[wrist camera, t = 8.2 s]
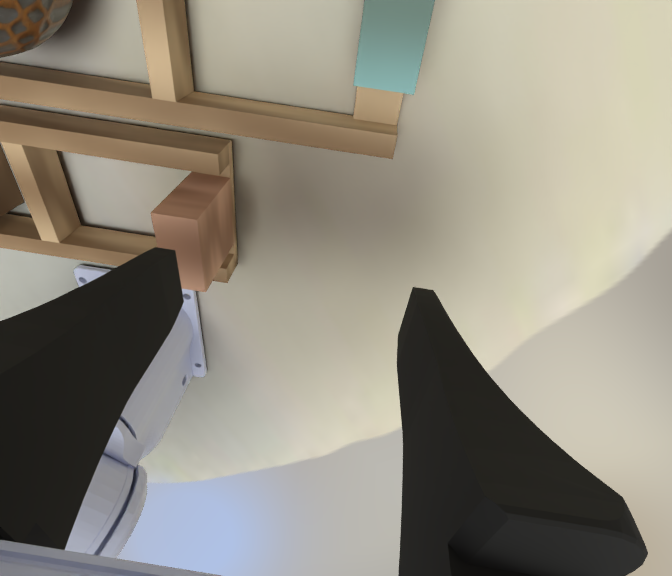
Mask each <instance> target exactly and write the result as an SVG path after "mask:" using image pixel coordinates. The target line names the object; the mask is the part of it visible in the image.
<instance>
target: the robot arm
mask: <svg viewBox="0 0 672 576" xmlns="http://www.w3.org/2000/svg"><path fill="white" fill-rule="evenodd" d="M74 275H75V277H76V280H77V283H78V285H79V287H78V288H76V289H74V290H72V291H70V292H68V293H66V294H64V295H62V296H60V297H58V298H56V299H54V300H52V301H50V302H47V303H45V304H43V305H40V306H38V307H36V308H33V309H31V310H28V311H26V312H23V313H21V314H18V315H16V316H13V317H11V318H8V319H5V320H2V321H0V576H221V575H215V574H209V573H202V572H196V571H190V570H184V569H177V568H172V567H166V566H159V565H153V564H147V563H140V562H134V561H128V560H122V559H116V558H117V556H118V555H119V553H120V552H121V550H122V549H123V547H124V546H125V544H126V542H127V541H128V539H129V537H130V536H131V534H132V532H133V530H134V528H135V526H136V524H137V522H138V519H139V517H140V515H141V512H142V510H143V507H144V503H145V500H146V495H147V473H146V470H145V469H144V468H143V467H142V466H140V465H138V463H139V461H140V460H141V459H142V458H144V457H145V456H146V455H148V454H149V453H150V452H151V451H152V450H153V449H154V448H155V447H156V446H157V445H158V443H159V442H160V440H161V439H162V437H163V435H164V433H165V431H166V429H167V427H168V425H169V423H170V421H171V419H172V417H173V415H174V413H175V411H176V409H177V407H178V405H179V403H180V400H181V398H182V396H183V394H184V392H185V390H186V388H187V386H188V384H189V382H190V380H191V378H192V376H196V377H204V376H205V375H206V373H207V368H206V361H205V353H204V346H203V339H202V332H201V325H200V318H199V311H198V304H197V296H196V291H194V290H188V289H182V287H181V281H180V275H179V269H178V263H177V257H176V252H175V250H171V249H165V248H158V247H154V248H152V249H150V250H148V251H146V252H144V253H142V254H140V255H139V256H137V257H135V258H133V259H131V260H129V261H128V262H126V263H124V264H122V265H120V266H118V267H117V268H115V269H113V270H109V269H103V268H96V267H90V266H83V265H79V266H77V267H76V268H75V269H74ZM187 294H189V295H190V296H188V295H187ZM397 372H398V384H399V396H400V407H401V419H402V430H403V484H402V485H403V486H402V517H401V540H400V559H399V576H626V575H627V574H629V573H631V572H633V571H635V570H636V569H637V568H639V567H640V566H641V565H642V564H643V562H644V561H645V559H646V557H647V554H648V552H647V549H646V546H645V543H644V541H643V539H642V537H641V534H640V532H639V530H638V528H637V525H636V523H635V521H634V519H633V517H632V515H631V512H630V511H629V508H628V507H627V504H626V503H625V501H624V499H623V497H622V496H620V495H619V494H618V493H616V492H615V491H614V490H612V489H611V488H610V487H609V486H607V485H606V484H605V483H603V482H602V481H601V480H600V479H598V478H597V477H596V476H594V475H593V474H592V473H591V472H589V471H588V470H587V469H585V468H584V467H583V466H581V465H580V464H579V463H578V462H577V461H575V460H574V459H573V458H572V457H571V456H569V455H568V454H567V453H566V452H565V451H564V450H563V449H561V448H560V447H559V446H558V445H557V444H556V443H554V442H553V441H552V440H551V439H550V438H549V437H548V436H547V435H545V434H544V433H543V432H542V431H541V430H540V429H539V428H538V427H537V426H536V425H535V424H534V423H533V422H532V421H531V420H530V419H529V418H528V417H527V416H526V415H525V414H524V413H523V412H521V411H520V409H519V408H518V407H517V406H516V405H515V404H514V403H513V402H512V401H511V400H510V399H509V398H508V397H507V395H506V394H505V393H504V392H503V391H502V390H501V389H500V388H499V386H498V385H497V384H496V383H495V382H494V381H493V380H492V378H491V377H490V376H489V375H488V373H487V372H486V371H485V370H484V368H483V367H482V366H481V364H480V363H479V362H478V360H477V359H476V357H475V356H474V355H473V353H472V352H471V350H470V349H469V348H468V346H467V345H466V343H465V342H464V340H463V338H462V337H461V335H460V334H459V332H458V331H457V329H456V328H455V326H454V324H453V323H452V321H451V319H450V318H449V316H448V314H447V313H446V311H445V309H444V308H443V306H442V304H441V302H440V301H439V299H438V297H437V295H436V294H435V292H434V291H433V290H428V289H422V288H415V287H413V289H412V292H411V295H410V298H409V302H408V305H407V308H406V311H405V315H404V318H403V321H402V324H401V328H400V331H399V334H398V349H397Z"/></svg>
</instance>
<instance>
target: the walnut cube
mask: <svg viewBox="0 0 672 576" xmlns="http://www.w3.org/2000/svg"><path fill="white" fill-rule="evenodd" d="M23 202H24V200H23V197H22V195H21V192H20V190H19V188H18V185H17V183H16V180H15V178H14V176H13V173H12V171H11V169H10V166H9V164H8V161H7V159H6V157H5V154H4V152H3V149H2V147H1V145H0V217H1V216H2V215H4V214H6V213H7V212H9V211H10V210H12V209H14V208H15V207H17V206H19V205H20V204H22V203H23Z"/></svg>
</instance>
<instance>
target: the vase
mask: <svg viewBox="0 0 672 576" xmlns="http://www.w3.org/2000/svg"><path fill="white" fill-rule="evenodd" d="M72 2H73V0H0V57H6V56H11V55H15V54H19V53H22V52H25V51H27V50H30V49H33V48H35V47H37V46H39V45H40V44H42V43H43V42H45V41H46V40H48V39H49V38H50V37H51V36H52V35H53V34H54V33H55V32H56V31H57V30H58V29H59V28H60V27H61V25H62V24H63V23H64V21H65V19H66V17H67V15H68V13H69V11H70V9H71V6H72Z"/></svg>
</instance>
